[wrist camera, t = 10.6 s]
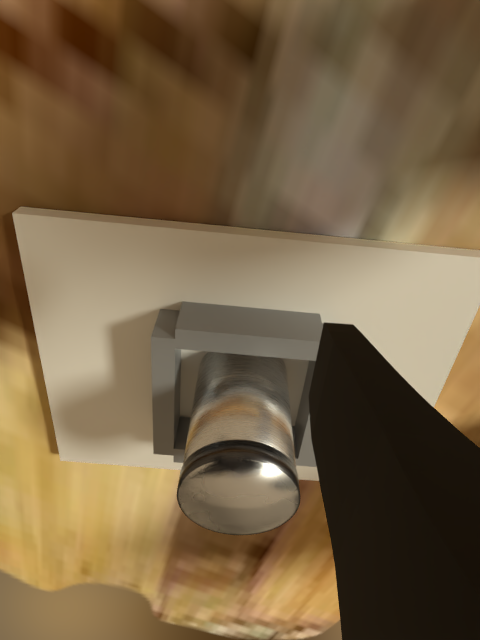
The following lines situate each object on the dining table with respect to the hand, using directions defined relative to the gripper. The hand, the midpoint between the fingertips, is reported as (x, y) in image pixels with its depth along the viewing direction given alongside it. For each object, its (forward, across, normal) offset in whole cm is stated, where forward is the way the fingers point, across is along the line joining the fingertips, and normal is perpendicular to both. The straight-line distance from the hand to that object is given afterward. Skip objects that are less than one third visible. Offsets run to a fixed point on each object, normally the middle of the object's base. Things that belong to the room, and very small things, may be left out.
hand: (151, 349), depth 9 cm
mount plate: (+10, -2, +9) cm, 14 cm away
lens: (+10, -2, +9) cm, 13 cm away
